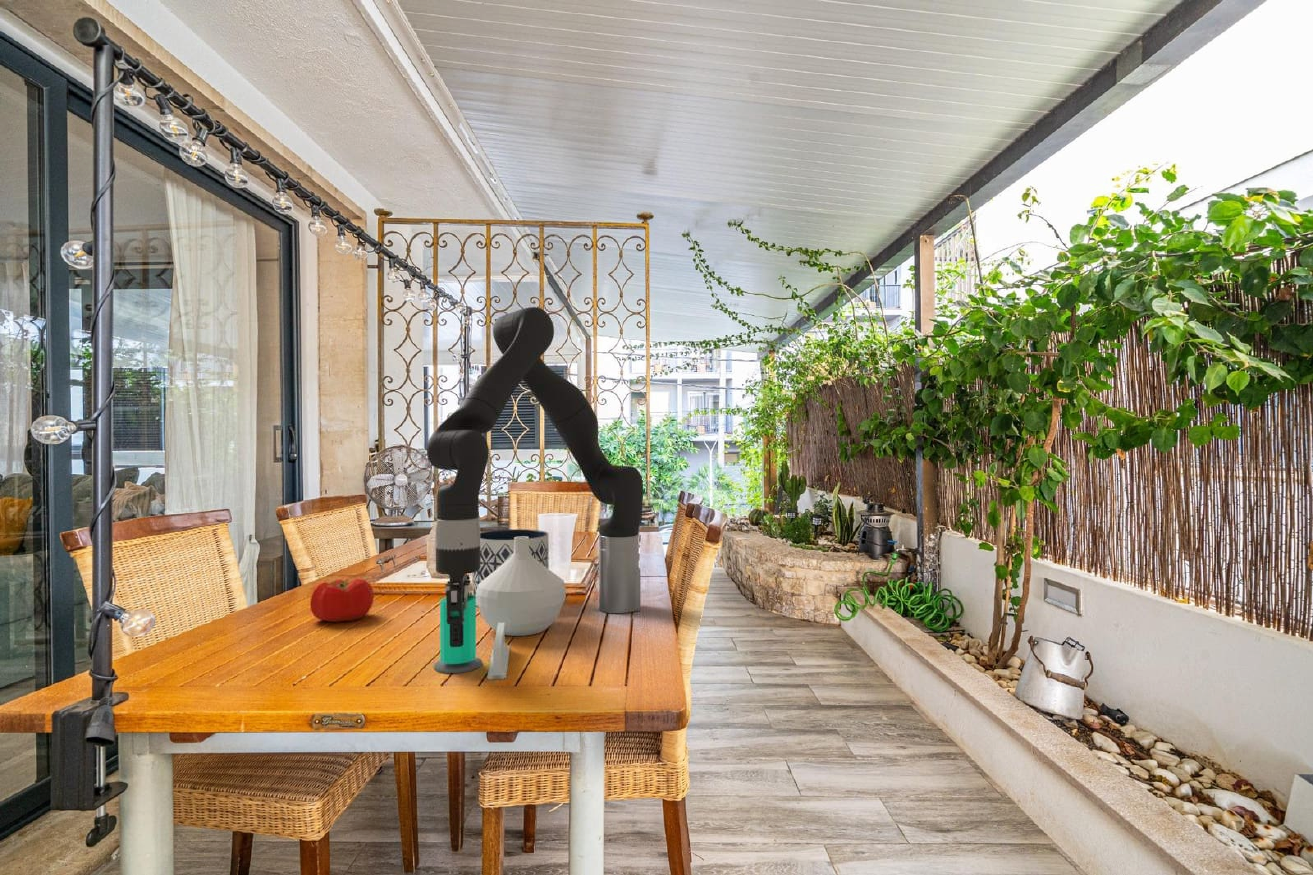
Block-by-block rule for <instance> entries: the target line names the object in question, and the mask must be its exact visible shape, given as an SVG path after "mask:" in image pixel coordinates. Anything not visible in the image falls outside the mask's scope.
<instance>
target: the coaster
mask: <svg viewBox="0 0 1313 875" xmlns="http://www.w3.org/2000/svg"><path fill="white" fill-rule="evenodd" d="M482 663H483V660H482V659H481V658H480V657H477V656H476V657H475V659H474V660H472V661H470V662H466V663H461V664H447V663H443V662H441V661H440V660H438V661H436V662H435V663H434V664H433V670H434V671H435V670H436V671H435V672H437V671H438V673H440V672H442V673H441V674H447V673H453V674H464V673H468V672H471V671H475V670H477V669H479V668H480V667H481V666H483V664H482ZM453 674H452V675H453Z"/></svg>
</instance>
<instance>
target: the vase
mask: <svg viewBox="0 0 1313 875" xmlns="http://www.w3.org/2000/svg"><path fill="white" fill-rule="evenodd" d="M566 598H567V586H566V584H565V581H564V579H563V578H561V577H560V576H558V575H557V574H556V573H555V572H553V571H552V570H551V569H548V568H546V567H545V566H544V565H543V564H541V563H540V562H539V561H537V560H536V559H535V558H534V557H533V556H532V555H531V554H530V552H529V537H526V536H520V537H514V553H513V554H512V555H511V557H510V558H509V559H508V560H507V561H506V562H505V563H503V564H502V565H501V566H500V567H499V568H498V569H496V570H495V571H494V572H493V573H491V574H490V575H489V576H488V577H486V578H485V579H484V580H483V581H481V582H480V583H479V585H478V587H477V590H476V602H477V606H476V607H477V608H478V610H479V613H480V615H481V618H482V620H483V621H485V623H486V624H487V625H488V626H489V627H490V628H491V629H493V630H494V631H495V632H496V631H497V626H498V623H505V636H511V637H521V636H522V637H525V636H531V635H535V634H539V633H541V632H544V631H545V630H547V629H548V628H549V627H550V626H551V625H553V624H554V622H555V621H556V619H557V618H558V617H559V616H560V614H561V612H562V609H563V606H564V603H565V600H566Z"/></svg>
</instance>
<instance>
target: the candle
mask: <svg viewBox="0 0 1313 875" xmlns="http://www.w3.org/2000/svg"><path fill="white" fill-rule="evenodd" d="M463 604H464V602H463ZM476 607H477V606H476V596H474V595H472V594H470V595H469V597H468V601H467V609H466V610H464V619H465V622H464V624H463V646H461V647H451V646H450V625H449V624H447V609H446V596H445V597H444V598H442V599H440V600H439V609H440V610H439V615H440V616H439V624H440V625H439V628H440V629H439V630H440V631H439V632H440V633H439V635H440V636H439V639H440V640H439V648H440V650H439V651H440V654H439V657H440V658H439V661H441V662H443V663H447V664H461V663H466V662H470V661H472V660H474V659H475V657H477V642H476V641H477V636H476V635H477V633H476V632H477V628H476V625H477V620H476V619H477V616H476V615H477V614H476V613H477V609H476ZM453 616H459V611H452V617H453Z"/></svg>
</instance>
